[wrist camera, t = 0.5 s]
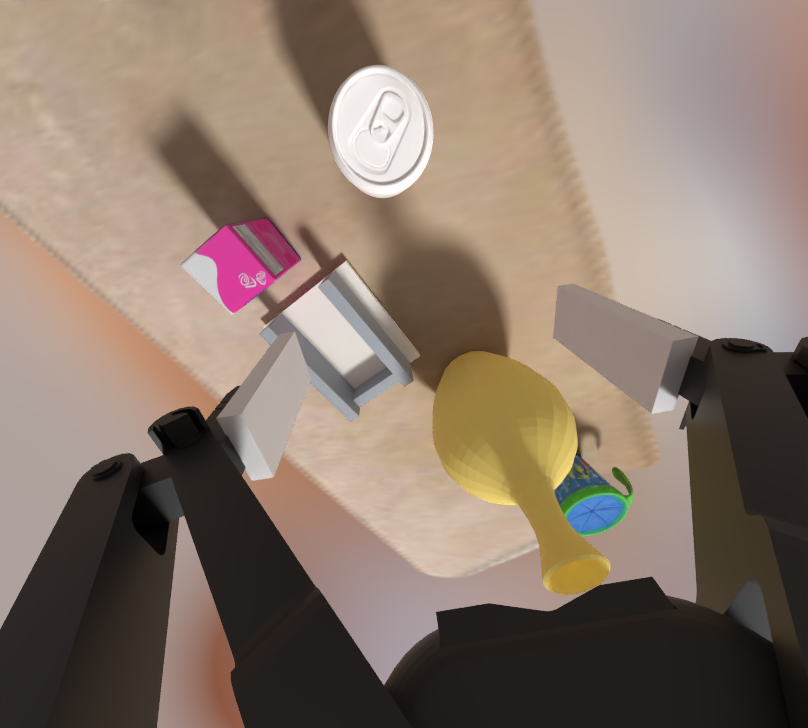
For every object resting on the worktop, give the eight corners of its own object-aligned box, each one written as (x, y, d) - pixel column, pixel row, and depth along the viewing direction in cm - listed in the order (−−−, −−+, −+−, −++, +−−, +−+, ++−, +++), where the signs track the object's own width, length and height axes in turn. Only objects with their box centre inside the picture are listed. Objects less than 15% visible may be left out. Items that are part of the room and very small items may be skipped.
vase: (430, 430, 51) (477, 645, 26) (413, 344, 43) (456, 529, 18) (525, 412, 50) (666, 612, 25) (525, 321, 43) (723, 480, 18)
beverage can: (329, 166, 33) (304, 147, 22) (369, 87, 30) (362, 22, 20) (391, 213, 35) (396, 217, 25) (433, 144, 33) (458, 115, 22)
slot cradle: (265, 324, 41) (248, 342, 35) (346, 259, 37) (340, 268, 32) (345, 403, 47) (340, 428, 42) (419, 353, 44) (424, 373, 39)
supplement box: (269, 287, 38) (229, 317, 28) (232, 246, 36) (173, 262, 26) (304, 260, 37) (275, 281, 27) (268, 216, 35) (221, 220, 25)
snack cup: (521, 493, 60) (546, 545, 51) (519, 455, 55) (546, 504, 46) (600, 477, 59) (640, 526, 50) (606, 436, 54) (651, 483, 45)
